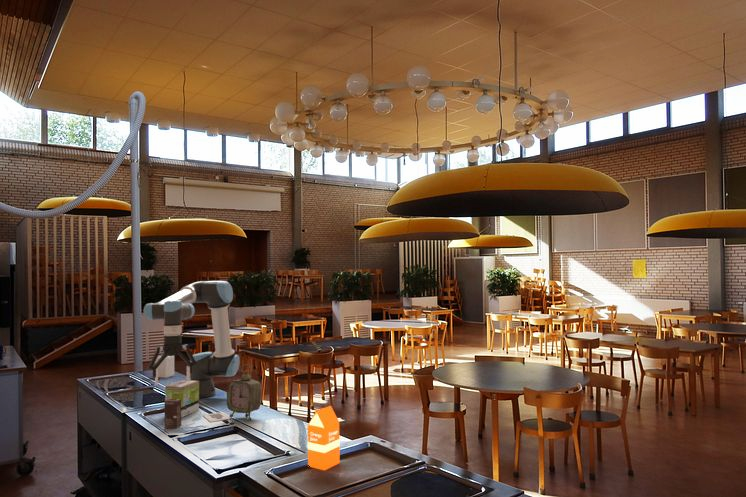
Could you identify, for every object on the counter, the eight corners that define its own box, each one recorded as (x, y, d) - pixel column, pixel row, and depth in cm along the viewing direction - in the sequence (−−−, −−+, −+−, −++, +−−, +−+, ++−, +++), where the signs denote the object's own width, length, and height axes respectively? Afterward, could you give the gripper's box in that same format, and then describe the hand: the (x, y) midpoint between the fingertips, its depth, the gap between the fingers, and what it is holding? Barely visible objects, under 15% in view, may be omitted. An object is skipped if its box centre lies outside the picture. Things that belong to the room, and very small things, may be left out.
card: (223, 412, 268) (223, 411, 268) (231, 418, 257) (231, 417, 257) (202, 415, 263) (202, 414, 263) (210, 422, 252) (210, 421, 252)
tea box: (183, 418, 259) (183, 386, 260) (164, 417, 261) (164, 385, 262) (199, 409, 274) (199, 379, 275) (181, 408, 276) (181, 379, 277)
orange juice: (307, 466, 196) (307, 409, 196) (323, 458, 203) (322, 404, 204) (324, 470, 191) (324, 412, 192) (340, 462, 199) (339, 407, 199)
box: (163, 428, 243) (163, 400, 244) (169, 425, 248) (169, 398, 248) (176, 428, 242) (176, 401, 243) (181, 425, 247) (181, 398, 247)
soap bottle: (163, 374, 364) (163, 345, 365) (174, 375, 361) (174, 346, 362) (154, 377, 356) (154, 347, 357) (165, 377, 353) (165, 348, 354)
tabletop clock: (225, 417, 257) (228, 363, 258) (238, 413, 265) (240, 361, 266) (250, 422, 250) (252, 367, 252) (262, 418, 258) (265, 364, 260)
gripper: (144, 337, 237) (144, 387, 236) (203, 333, 250) (203, 380, 249) (141, 336, 243) (141, 384, 242) (198, 332, 256) (198, 378, 255)
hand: (172, 382), depth 246 cm, fingers open, 13 cm apart
